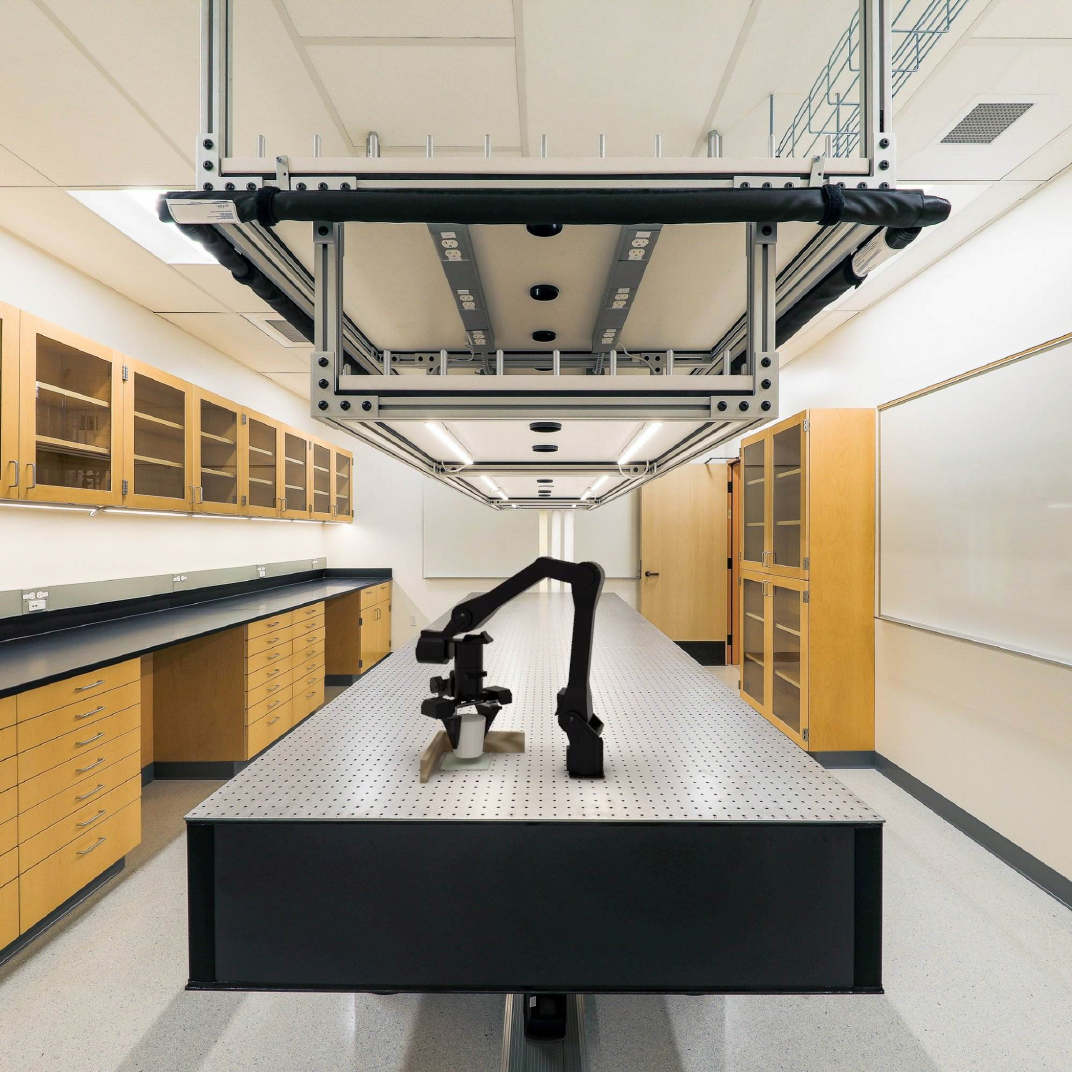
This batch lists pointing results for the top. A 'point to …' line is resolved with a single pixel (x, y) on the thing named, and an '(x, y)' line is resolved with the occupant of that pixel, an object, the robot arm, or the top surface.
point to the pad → (467, 762)
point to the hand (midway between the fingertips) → (468, 745)
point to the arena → (492, 743)
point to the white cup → (471, 736)
